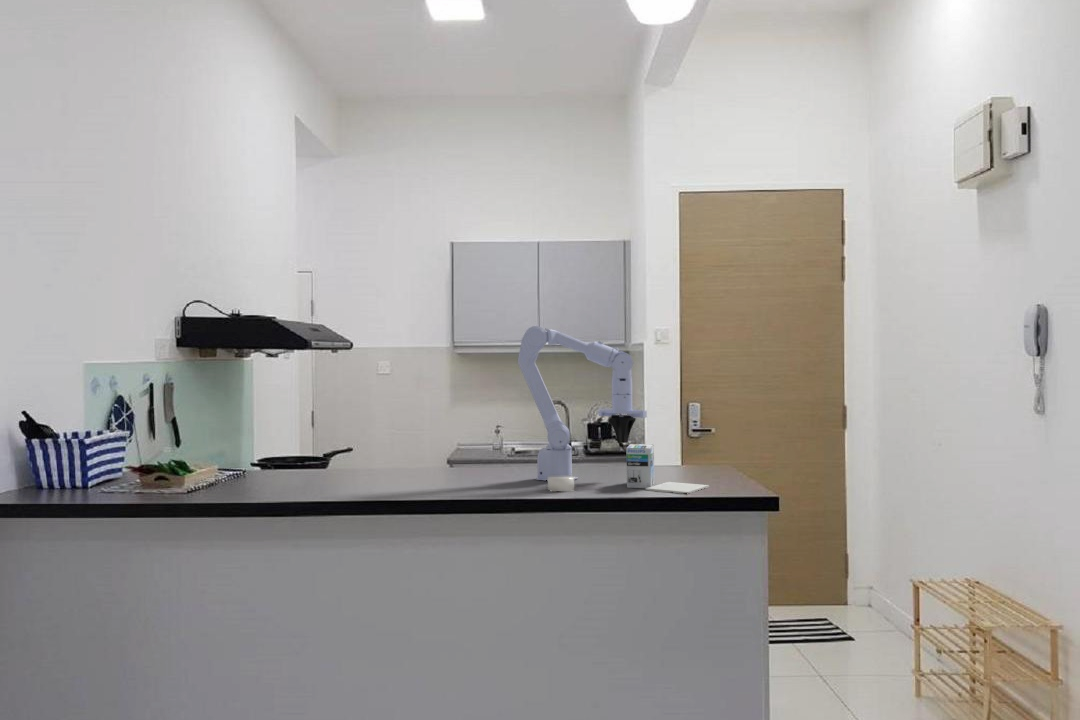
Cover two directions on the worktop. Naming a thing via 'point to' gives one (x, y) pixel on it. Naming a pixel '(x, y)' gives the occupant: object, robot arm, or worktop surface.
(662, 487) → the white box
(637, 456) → the light bulb box
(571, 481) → the pale rounded bar
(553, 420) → the robot arm
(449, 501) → the worktop surface
